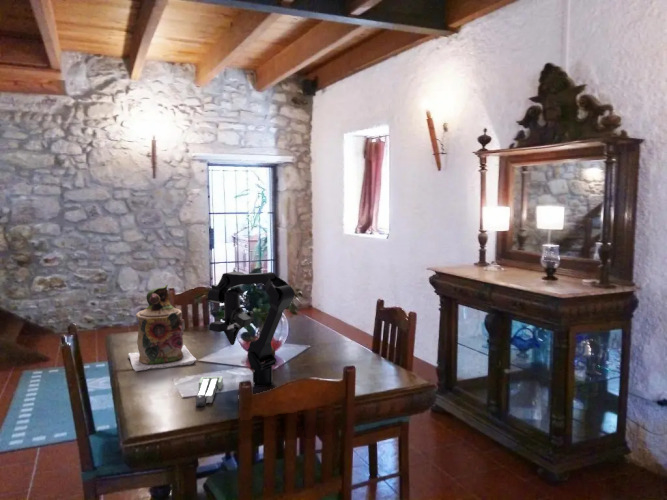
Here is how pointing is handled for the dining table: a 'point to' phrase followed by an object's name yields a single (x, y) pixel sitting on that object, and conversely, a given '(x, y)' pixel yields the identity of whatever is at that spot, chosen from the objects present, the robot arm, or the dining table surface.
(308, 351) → the dining table surface
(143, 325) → the cookie jar
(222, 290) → the robot arm
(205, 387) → the tong arm
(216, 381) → the tongs fixed arm
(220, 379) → the lock clip
